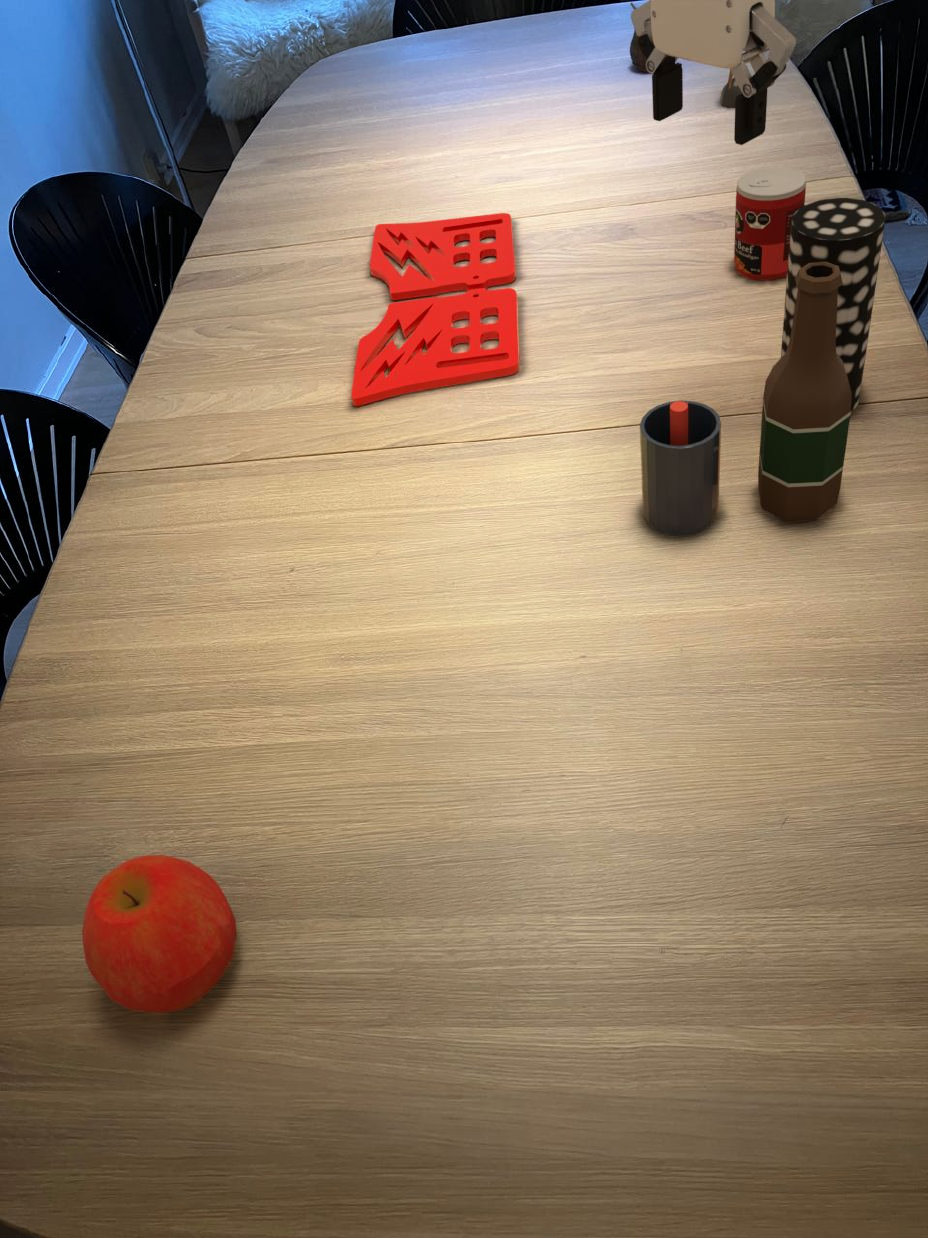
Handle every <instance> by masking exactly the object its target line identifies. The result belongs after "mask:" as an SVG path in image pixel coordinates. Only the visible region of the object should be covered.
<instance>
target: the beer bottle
mask: <svg viewBox="0 0 928 1238" xmlns="http://www.w3.org/2000/svg"><path fill="white" fill-rule="evenodd" d="M795 281H796V286H797V289H798V291H797V298H796V304H795V311H794V317H793V324H792V330H791V337H790V341H789V344H788V347H787V351H786V353H785V354H784V355H783V357H782V358H781V357H780V358H779V360H778V361H777V362H776V363H775V364H773V366H772V368H771V369H770V372H769V373H768V376H767V378H766V379H765V383H764V390H763V394H762V395H763V396H762V408H761V409H762V411H761V424H760V437H759V438H760V439H759V440H760V441H759V456H758V469H757V470H758V471H757V476H758V477H757V480H758V481H757V486H758V489H757V490H758V495H759V502H760V508H761V509H762V510H763V511H765V512H766V513H769V514H770V515H772V516H774V517H776V518H778V519H779V520H782V521H784V522H786V523H787V522H809V521H817V520H818V519H820V518H822V516H824V515H825V514H826V513H828V512H829V511H830V510H831V509H832V508H834V507H835V506H836V505H837V504H838V501H839V498H840V497H839V495H840V491H841V486H842V479H843V471H844V465H845V459H846V458H845V457H846V450H847V443H848V435H849V430H850V429H849V428H850V421H851V414H852V412H851V399H852V393H851V389H850V385H849V381H848V378H847V374H846V370H845V367H844V363H843V361H842V359H841V358H840V357H839V355H838V354H837V353H836V323H837V302H838V287H840V286H841V285H843V282H842V277H841V273H840V269H839V266H837V265H834V264H831V263H828V262H816V263H808V264H807V265H805V266H804V267H802V268H801V269H799V270H798V273H797V275H796V278H795Z"/></svg>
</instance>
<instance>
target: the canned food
mask: <svg viewBox="0 0 928 1238" xmlns="http://www.w3.org/2000/svg"><path fill="white" fill-rule="evenodd" d="M806 177H807V176H806V175H805V174H804V173H803V172H801V171H800V170H798V169H795V168H790V167H787V166H786V167H784V166H768V167H762V168H757V169H753V170H751V171H748V172H746V173H745V174H742V175H741V176H740V177H739V178H738V180H737V182H736V193H735V214H734V215H735V216H734V217H735V218H734V249H733V263H734V267H735V270H736V272H737V273H738V274H739V275H740V276H743V277H745V278H747V279H750V280H756V281H771V280H772V281H773V280H777V279H781V278H784V277H787V270H788V258H789V245H790V232H791V220H792V216H793V215H794V213H795V212H796V211H797V210H798V209H800V208H801V207H803V206H805V205H806V204H805V203H806V192H807V191H806V190H807V178H806Z"/></svg>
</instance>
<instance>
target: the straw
mask: <svg viewBox="0 0 928 1238" xmlns="http://www.w3.org/2000/svg"><path fill="white" fill-rule="evenodd" d="M675 401H676V402H674V403H672V404H671V405H670V445H674V446H683V445H688V405H687V403H685V402H683V401H684V400H683V401H680V400H675Z"/></svg>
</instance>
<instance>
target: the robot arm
mask: <svg viewBox="0 0 928 1238" xmlns="http://www.w3.org/2000/svg"><path fill="white" fill-rule="evenodd" d="M630 20H631V22H632V25H633V29H634V28H635V31H636V34H637V36H639V38H638V46H639V48H640V49H641V51H642V53H643V54H644V56H645V58H646V59H647V61H646V69H647V71H648V72H647V73H649V74H652V75H651V88H652V89H651V90H652V94H651V95H652V118H653V120H654V121H656V122H661V121H664V120H665V119H667V118H670V117H671V116H674V115H675V114H678V113H679V112H681V111H682V110H683V107H684V92H683V89H684V86H683V84H684V82H683V81H684V80H683V79H684V77H683V73H684V72H683V63H681V62H677V61H678V59H682V60H685V61H688V62H693V63H698V64H702V65H706V66H711V67H715V68H721V69H729V71H730V70H731V72H732V74H733V78H735V80H736V82H737V84H738V86H739V88H740V90H741V92H742V94H740V95H738V96H736V100H735V107H734V132H733V134H734V135H733V137H734V143H735V144H737V145H740V146H743V145H745V144H747V143H749V142H751V141H752V140H754V139H756V138H759V137H760V136H762V135H763V134H764V133H765V131H766V125H767V110H768V109H767V106H768V88H771V87H772V86H773V85H774V84H775V82H776V80H778V78H779V77H780V76H781V75H782V74H783V73H784V72H785V71H786V69H787V63H788V62H789V60H790V58H791V56H792V54H793V52H794V50H795V48H796V45H797V39H796V37H795V35H794V34H792V33H791V31H789V30H788V29H787V27H785V26H784V25H783V24H782V23H781V22H780V21H778V19H777V18H776V0H647V1H646V2H644V3H643V4H641V5H639V6H638V7H636V9H635V10H634V9H633V10H632V11H631V12H630ZM766 52H768V55H767V57H766V55H765V53H766ZM748 63H749V64H750V65H751V68H752V69H753V72H754V74H753V75H752V73H751V72H750V71H751V70H750V69H749V67H748V66H747V64H748Z"/></svg>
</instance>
